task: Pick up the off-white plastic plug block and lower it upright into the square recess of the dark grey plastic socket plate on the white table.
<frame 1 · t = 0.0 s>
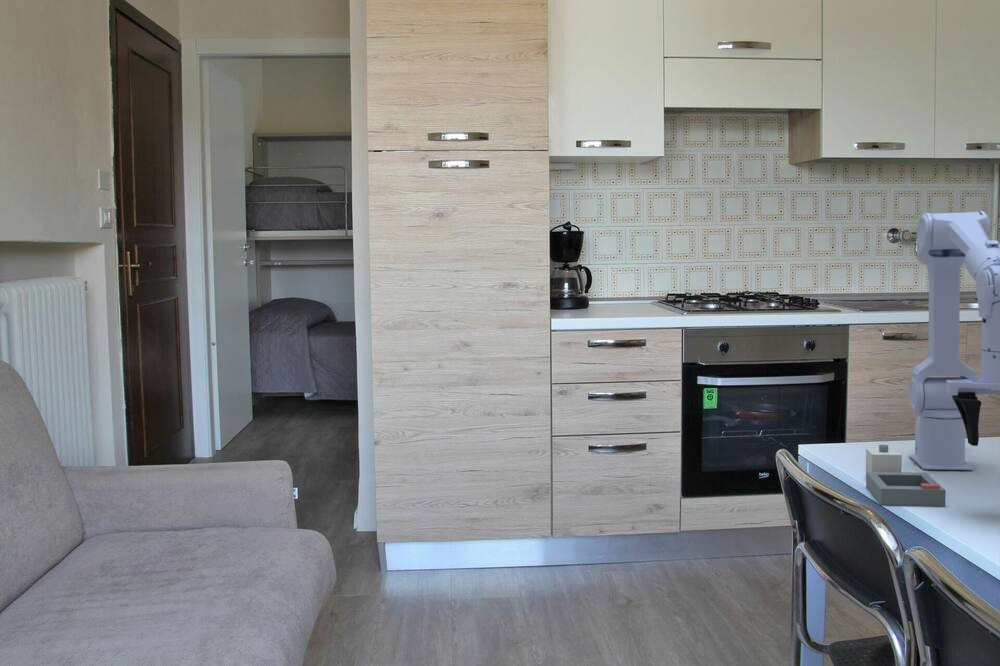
socket plate: (904, 496, 135), on the table
plug: (883, 481, 144), on the table
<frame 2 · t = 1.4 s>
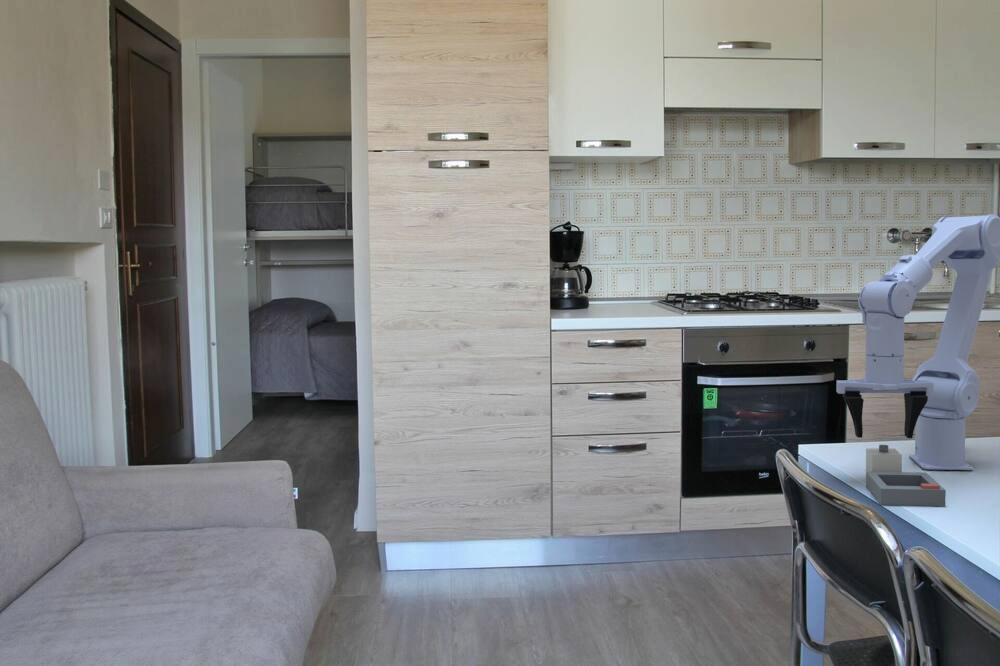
hand: (883, 436, 143), 7 cm above the table, fingers open, 7 cm apart
nothing on the table moved.
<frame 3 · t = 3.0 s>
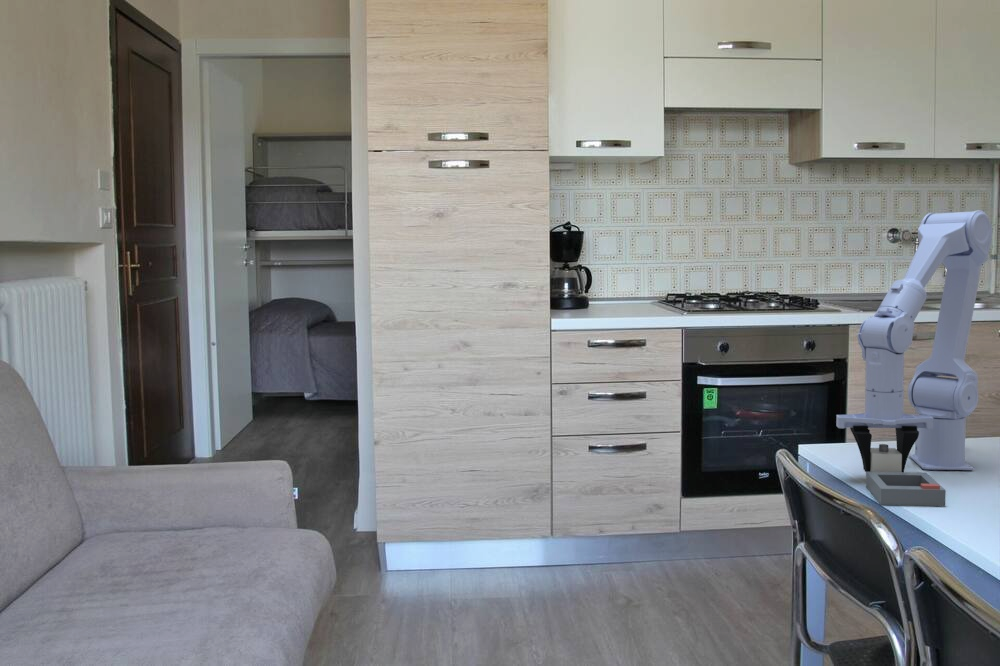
hand: (883, 470, 144), 2 cm above the table, fingers closed on plug, 4 cm apart
plug: (883, 480, 144), on the table, touching gripper
everything else where it was.
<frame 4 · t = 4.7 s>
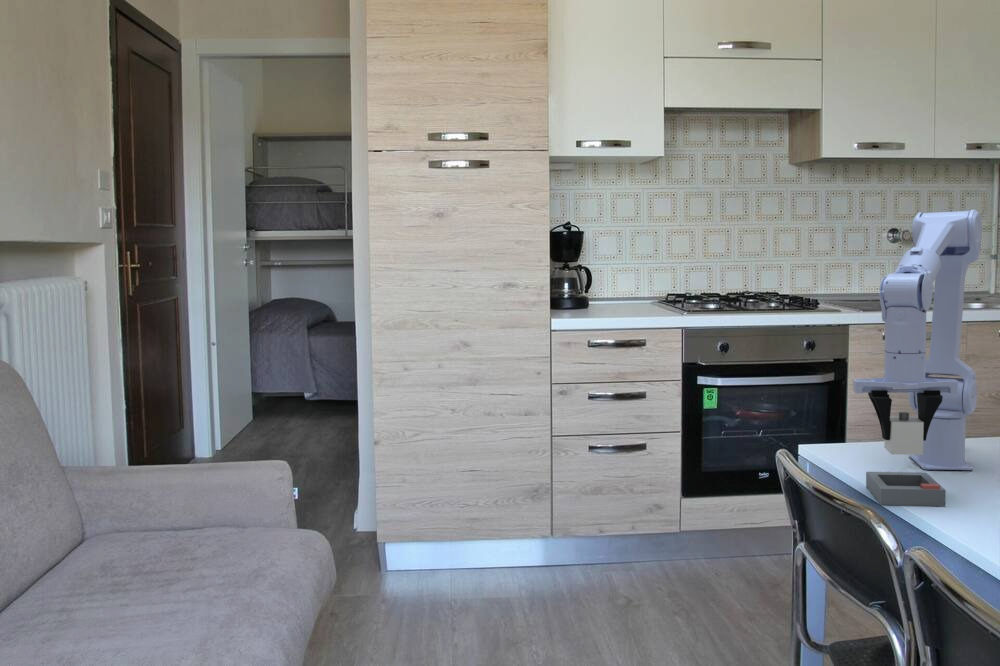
hand: (903, 439, 134), 9 cm above the table, fingers closed on plug, 4 cm apart
plug: (903, 451, 135), point 7 cm above the table, touching gripper
everything else where it was.
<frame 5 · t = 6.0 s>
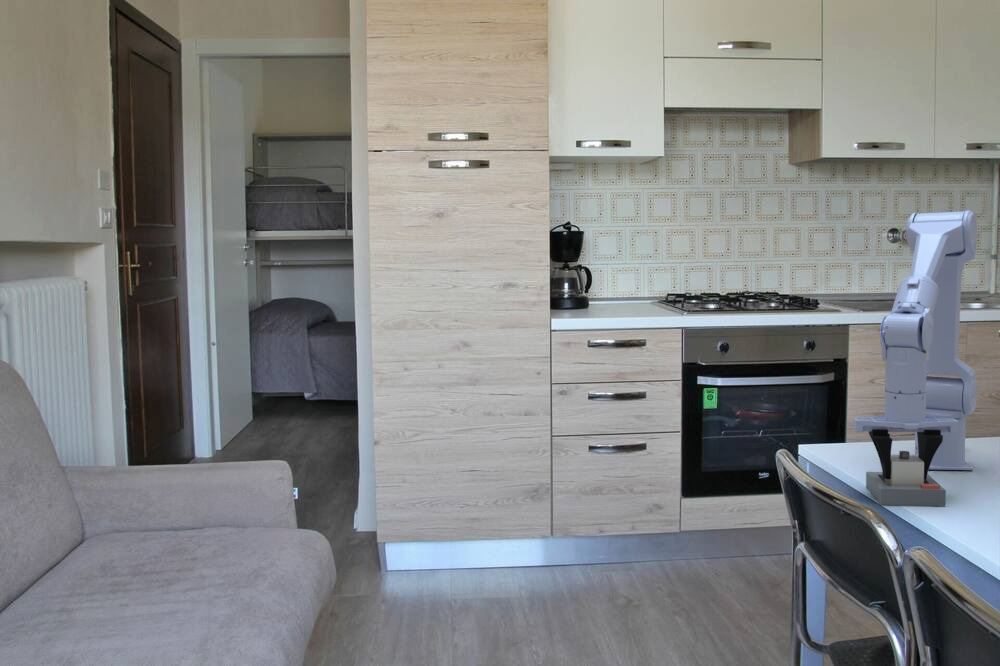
hand: (904, 477, 135), 3 cm above the table, fingers closed on plug, 4 cm apart
plug: (903, 489, 135), point 1 cm above the table, touching gripper
everything else where it was.
when the fingers open (3 cm above the table, at t = 6.7 s): plug stays where it is, resting on socket plate.
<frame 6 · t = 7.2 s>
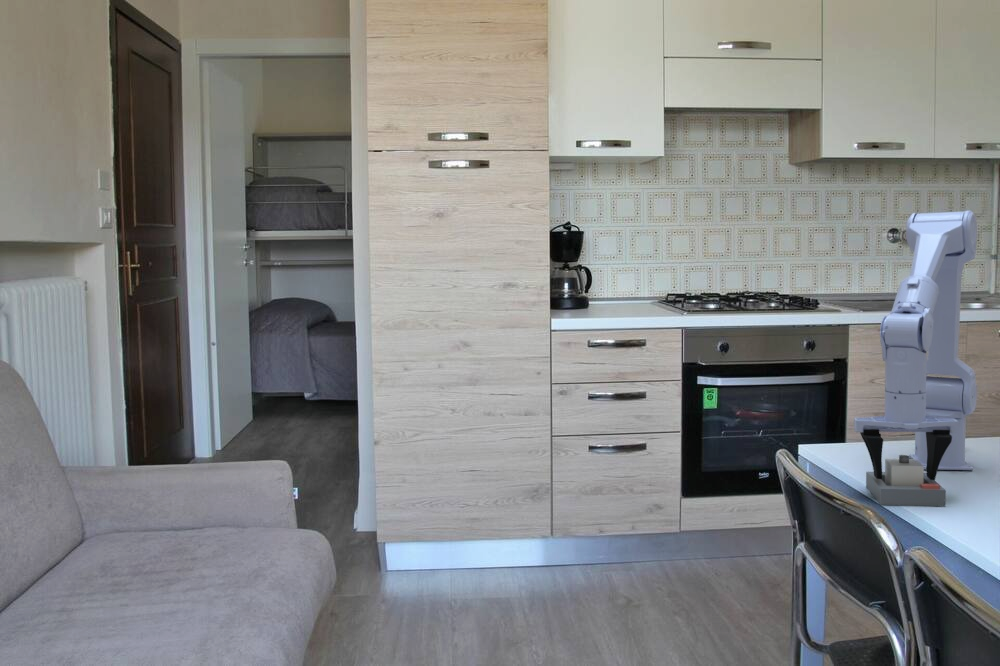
hand: (904, 477, 135), 3 cm above the table, fingers open, 7 cm apart
plug: (903, 493, 135), resting on socket plate
everything else where it was.
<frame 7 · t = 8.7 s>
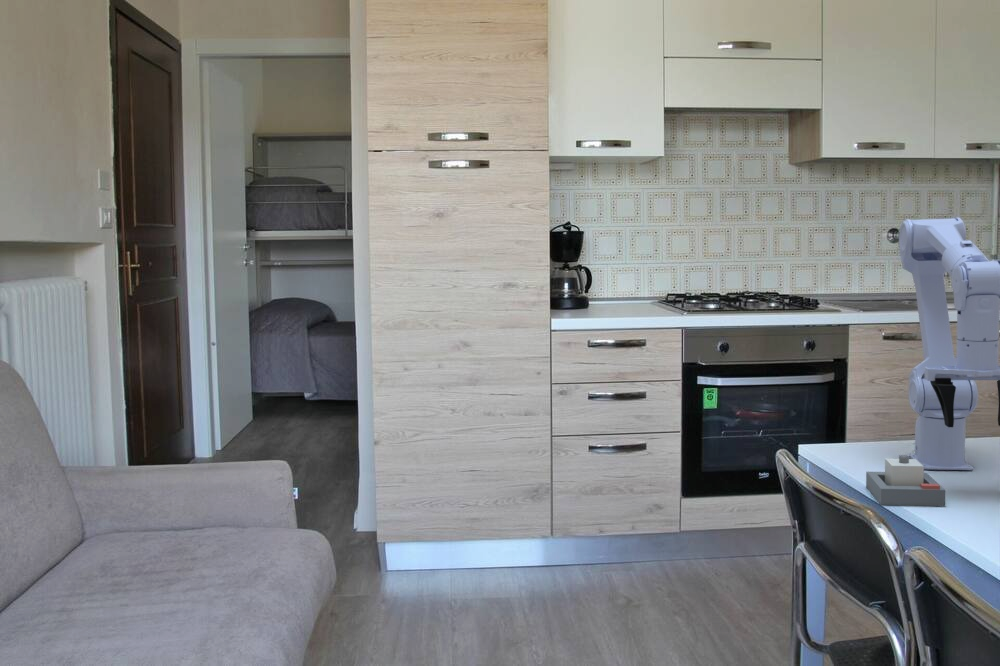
hand: (975, 426, 135), 10 cm above the table, fingers open, 7 cm apart
nothing on the table moved.
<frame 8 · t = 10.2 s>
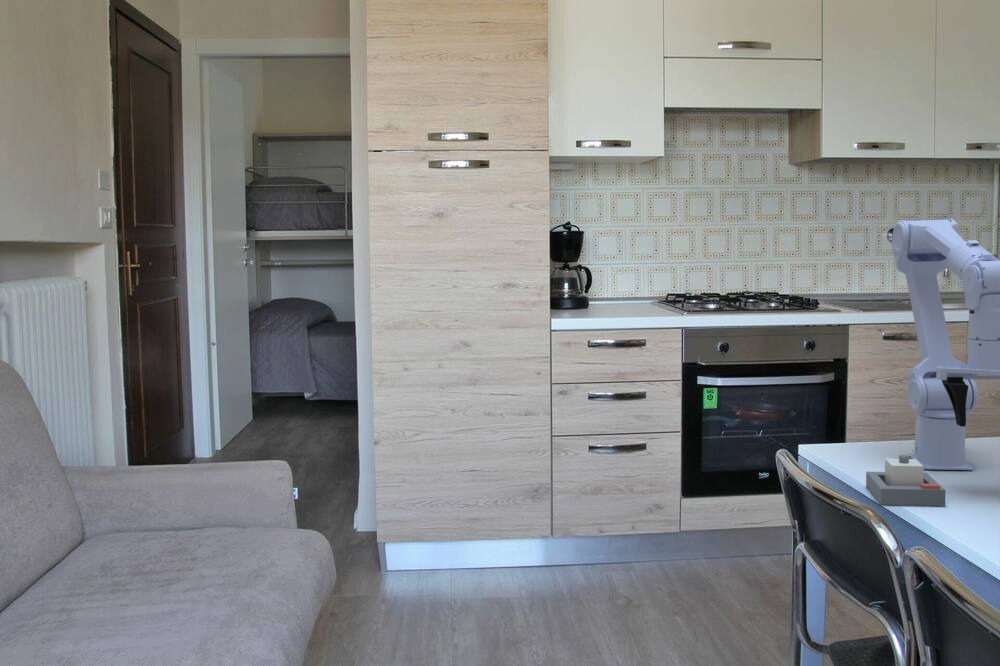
hand: (987, 425, 135), 10 cm above the table, fingers open, 7 cm apart
nothing on the table moved.
at the end: plug 0.2 cm off-centre on the socket plate, point 0.3 cm above the socket plate's base; plug tilted 0°; the gripper is holding nothing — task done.
